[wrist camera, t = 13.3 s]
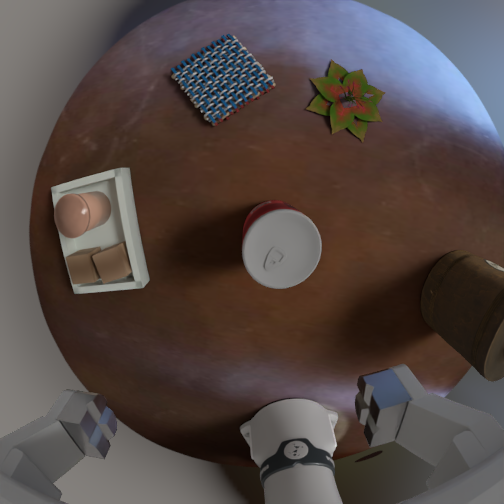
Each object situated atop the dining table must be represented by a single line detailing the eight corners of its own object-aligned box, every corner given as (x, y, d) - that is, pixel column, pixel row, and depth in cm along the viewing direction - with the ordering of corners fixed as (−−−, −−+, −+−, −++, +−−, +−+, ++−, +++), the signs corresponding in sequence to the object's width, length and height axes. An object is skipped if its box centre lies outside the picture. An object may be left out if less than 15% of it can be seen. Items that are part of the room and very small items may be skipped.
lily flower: (324, 48, 32) (333, 35, 27) (394, 91, 33) (410, 84, 29) (289, 114, 34) (295, 106, 30) (365, 157, 36) (380, 156, 32)
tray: (149, 280, 39) (143, 287, 37) (83, 286, 40) (74, 293, 37) (129, 168, 35) (120, 167, 32) (62, 186, 35) (51, 187, 32)
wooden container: (482, 297, 42) (555, 349, 21) (429, 341, 44) (494, 415, 23) (470, 233, 39) (565, 273, 18) (409, 280, 41) (500, 352, 19)
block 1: (106, 272, 38) (94, 282, 35) (85, 275, 38) (72, 284, 35) (100, 246, 37) (87, 253, 34) (79, 249, 37) (65, 257, 34)
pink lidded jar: (109, 185, 35) (83, 189, 28) (115, 224, 37) (91, 234, 30) (78, 193, 35) (51, 198, 29) (85, 230, 37) (58, 241, 30)
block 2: (137, 266, 38) (127, 276, 34) (114, 273, 38) (103, 283, 35) (127, 239, 37) (115, 247, 33) (104, 248, 37) (91, 256, 34)
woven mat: (213, 131, 35) (211, 128, 33) (169, 75, 33) (166, 71, 31) (278, 88, 34) (280, 84, 32) (232, 35, 31) (232, 29, 29)
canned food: (235, 248, 39) (231, 276, 28) (254, 191, 37) (258, 197, 26) (288, 265, 39) (303, 299, 29) (309, 210, 37) (334, 225, 27)
